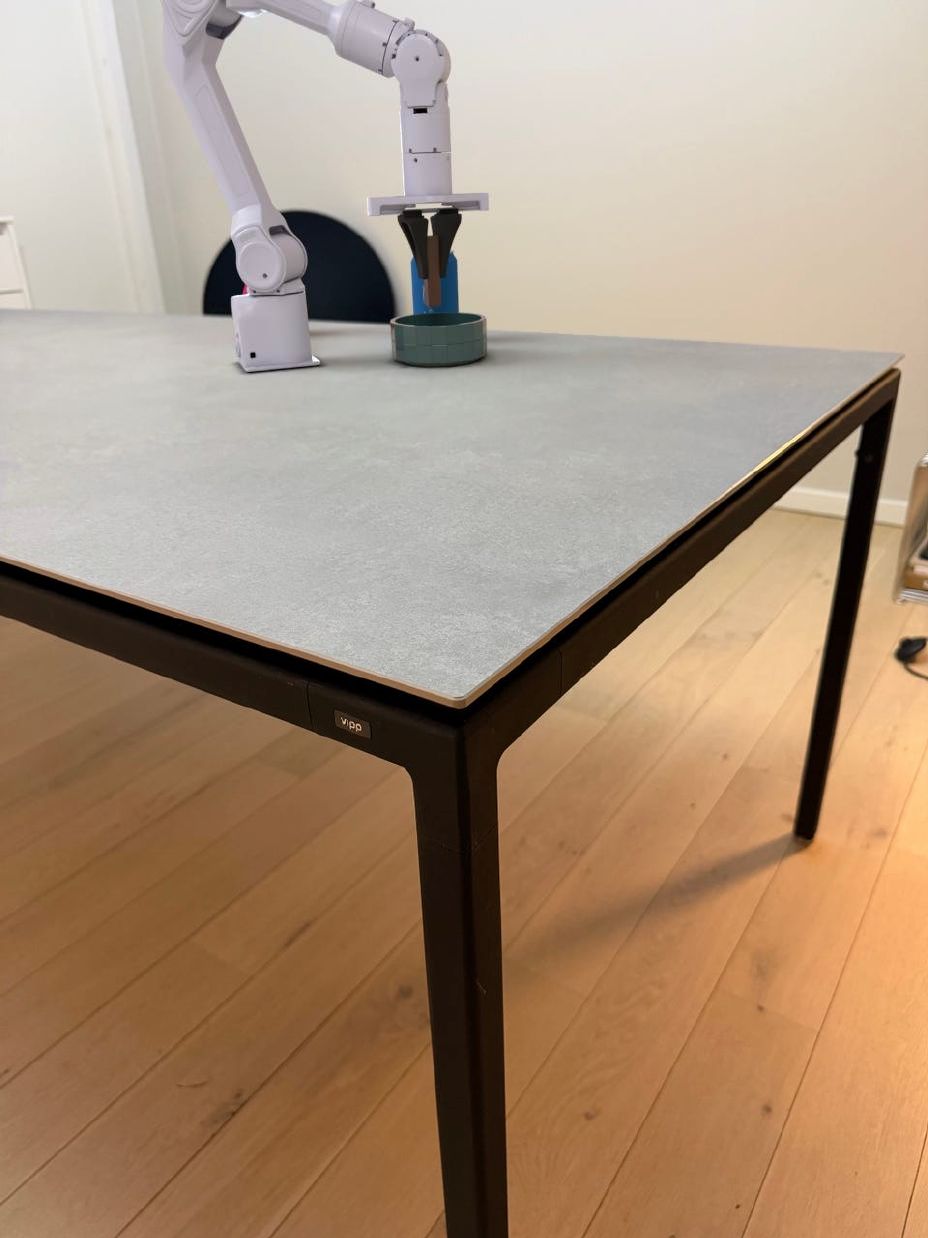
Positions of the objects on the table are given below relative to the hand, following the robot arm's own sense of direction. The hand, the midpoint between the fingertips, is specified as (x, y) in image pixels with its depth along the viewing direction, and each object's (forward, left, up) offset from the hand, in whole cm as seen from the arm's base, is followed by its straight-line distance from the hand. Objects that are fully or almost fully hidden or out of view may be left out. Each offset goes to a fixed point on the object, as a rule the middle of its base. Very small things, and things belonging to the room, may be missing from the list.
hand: (431, 277), depth 112 cm
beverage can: (+5, +15, -10) cm, 19 cm away
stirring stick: (0, 0, -3) cm, 3 cm away
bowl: (+1, +2, -10) cm, 11 cm away
